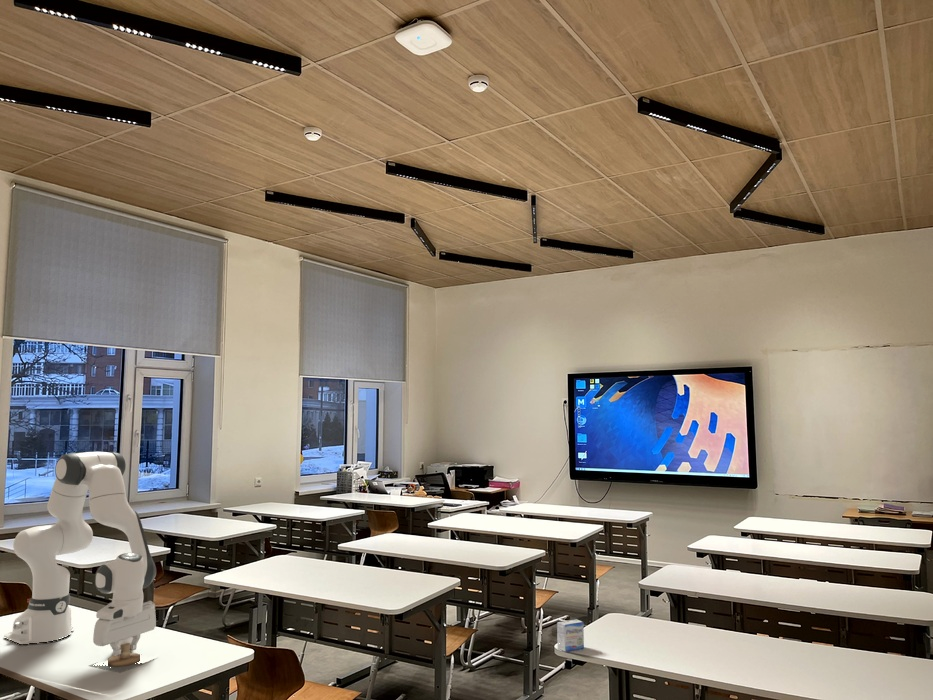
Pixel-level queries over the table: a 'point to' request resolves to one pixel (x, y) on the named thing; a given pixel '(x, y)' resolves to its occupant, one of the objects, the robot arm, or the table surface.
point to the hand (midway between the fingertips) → (124, 652)
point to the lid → (124, 657)
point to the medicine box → (570, 635)
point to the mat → (117, 669)
